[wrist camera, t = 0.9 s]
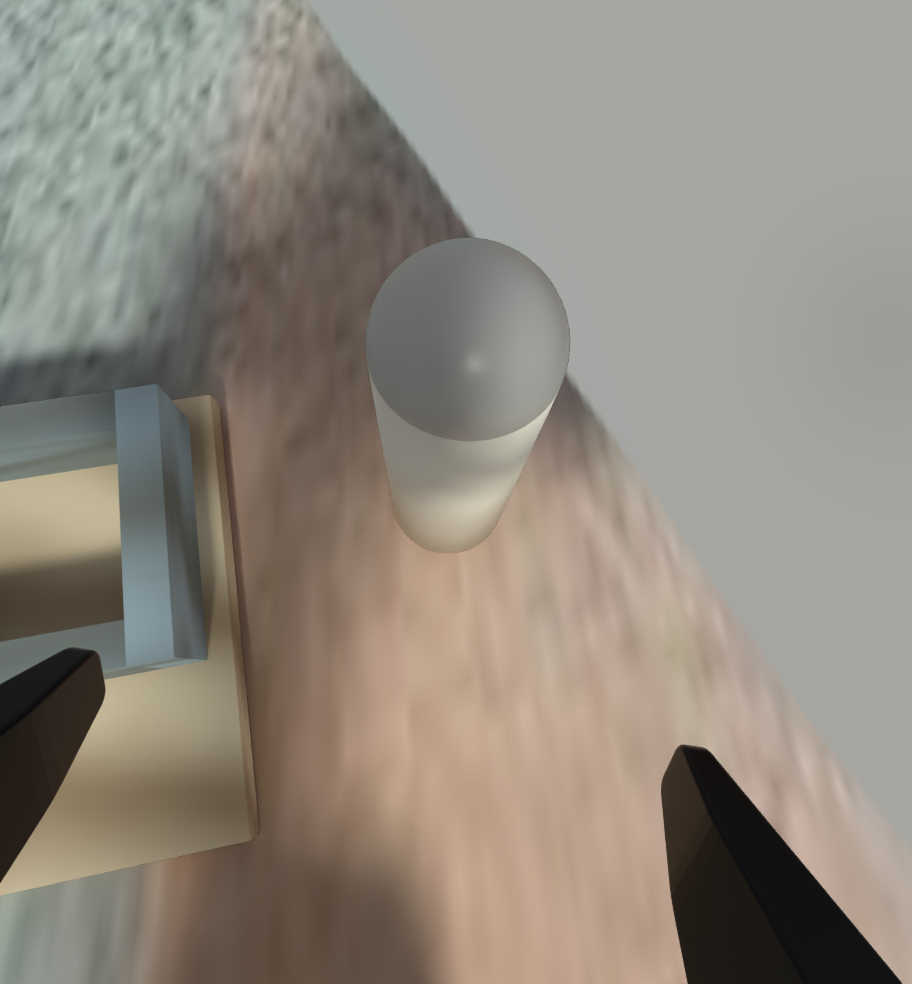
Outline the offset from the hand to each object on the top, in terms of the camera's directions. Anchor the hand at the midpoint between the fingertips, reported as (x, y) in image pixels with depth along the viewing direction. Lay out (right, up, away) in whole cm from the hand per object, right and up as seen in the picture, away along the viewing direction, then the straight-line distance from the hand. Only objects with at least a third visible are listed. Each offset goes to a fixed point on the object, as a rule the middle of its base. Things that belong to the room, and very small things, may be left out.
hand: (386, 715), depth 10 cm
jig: (-13, -2, +13) cm, 18 cm away
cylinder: (+1, +3, +15) cm, 16 cm away
